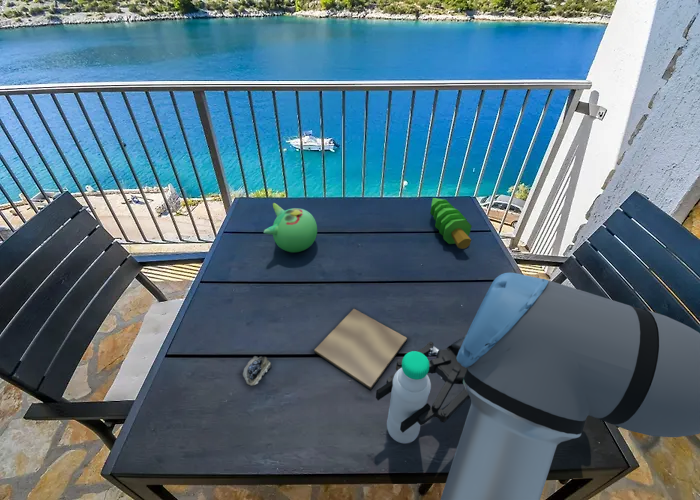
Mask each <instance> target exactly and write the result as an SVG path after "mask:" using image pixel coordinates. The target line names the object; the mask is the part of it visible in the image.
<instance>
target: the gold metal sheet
mask: <svg viewBox="0 0 700 500" xmlns="http://www.w3.org/2000/svg"><path fill="white" fill-rule="evenodd" d="M407 341H408V337H406V336H404V335H402V334H401V333H399V332H398V331H395V330H394V329H392V328H390V327H388V326H387V325H384V324H383V323H381V322H379V321H377V320H376V319H374V318H372V317H371V316H368V315H367V314H365V313H362V312H361V311H359V310H357V309H355V308H353V309H352V310H351V311H350V312H348V314H347V315H346V316H345V317H344V318H343V319H342V320H341V321H340V322H339V323H338V324H337V325H336V326H335V327H334V329H333V330H331V331H330V333H328V335H327V336H325V338H324V339H323V340H322V341H321V342H320V343H319V344H318V345H317V346H316V348H314V350H313V352H314V353H315V354H317V355H318V356H320V357H321V358H323V359H324V360H326V361H327V362H329V363H330V364H331V365H333V366H335V367H336V368H338V369H339V370H341V371H342V372H343V373H345V374H347V375H348V376H350V377H351V378H352V379H354V380H356V381H357V382H359V383H360V384H362V385H363V386H365V387H367V389H369V390H372V389H373V387H374V386H375V384H377V382H378V380H379V379H380V377H381V376H382V375H383V373H384V372H385V371H386V369H387V368H388V367H389V366H390V364H391V363H392V361H393V360H394V358H395V357H396V356H397V354H398V353H399V351H400V350H401V349H402V347H403V346H404V345H405V344H406V342H407Z"/></svg>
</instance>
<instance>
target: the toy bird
mask: <svg viewBox="0 0 700 500" xmlns="http://www.w3.org/2000/svg"><path fill="white" fill-rule="evenodd" d="M272 208H273V211H274V213H275V216H276V218H275V219H274V221H273V224H272V225H271V226H269V227H267V228H265V229H264V230H263V234H264V235H272V238H273V241H274V242H275V244H276V245H277V247H278V248H280V249H281V250H283V251H285V252H287V253H288V252H289V253H301V252H304V251H305V250H307V249H309V248H310V247H311V246H312V245H313V244H314V242H316V238H317V236H318V225H317V221H316V219H315V217H314V216H313V214H312V213H310V212H309V211H308V210H306V209H304V208H300V207H299V208H297V207H293V208H288V209H286V210H285V209H283V208H282V207H281V206H280V205H279V204H277V203H275V202H273V203H272Z"/></svg>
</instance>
